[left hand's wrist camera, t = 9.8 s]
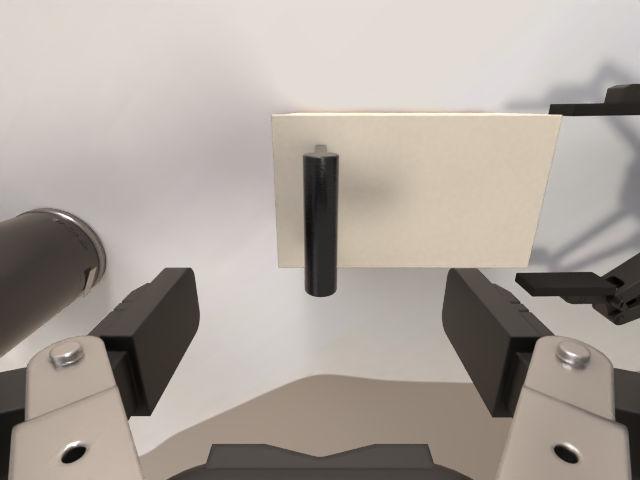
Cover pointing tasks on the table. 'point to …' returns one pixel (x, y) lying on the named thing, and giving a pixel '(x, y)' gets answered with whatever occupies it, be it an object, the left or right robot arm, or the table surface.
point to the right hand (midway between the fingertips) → (540, 204)
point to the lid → (408, 191)
